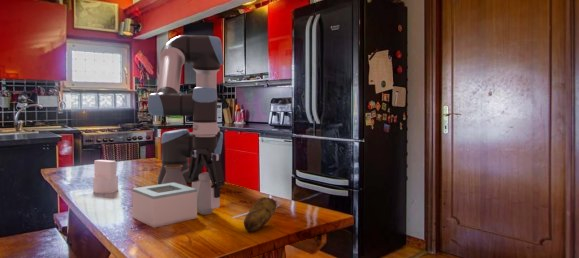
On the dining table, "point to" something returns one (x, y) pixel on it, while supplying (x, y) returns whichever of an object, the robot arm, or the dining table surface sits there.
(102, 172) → the base with upright slab
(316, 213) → the dining table surface
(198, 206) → the salt shaker
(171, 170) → the coffee pot
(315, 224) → the dining table surface
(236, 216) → the fork
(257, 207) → the potato
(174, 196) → the drop box
